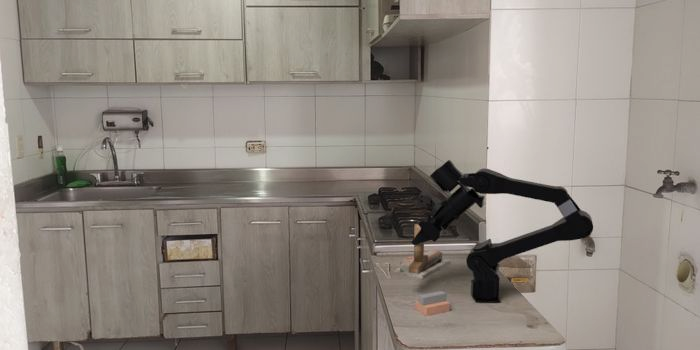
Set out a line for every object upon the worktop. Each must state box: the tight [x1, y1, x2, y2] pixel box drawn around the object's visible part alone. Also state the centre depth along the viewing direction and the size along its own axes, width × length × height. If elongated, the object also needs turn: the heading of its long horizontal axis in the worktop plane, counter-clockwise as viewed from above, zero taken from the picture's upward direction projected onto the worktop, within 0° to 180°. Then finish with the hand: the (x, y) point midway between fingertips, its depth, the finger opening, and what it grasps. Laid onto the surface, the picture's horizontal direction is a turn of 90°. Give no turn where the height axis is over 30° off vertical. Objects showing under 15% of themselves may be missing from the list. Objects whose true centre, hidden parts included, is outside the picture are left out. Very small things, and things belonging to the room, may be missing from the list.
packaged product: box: [393, 249, 451, 280], centre depth 175 cm, size 18×5×10 cm
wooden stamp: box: [409, 223, 428, 273], centre depth 154 cm, size 3×12×12 cm, turn 160°
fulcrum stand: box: [414, 290, 451, 317], centre depth 142 cm, size 7×5×4 cm
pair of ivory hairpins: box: [374, 262, 391, 280], centre depth 171 cm, size 18×5×2 cm, turn 6°
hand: (414, 242), depth 154 cm, fingers closed on wooden stamp, 3 cm apart
